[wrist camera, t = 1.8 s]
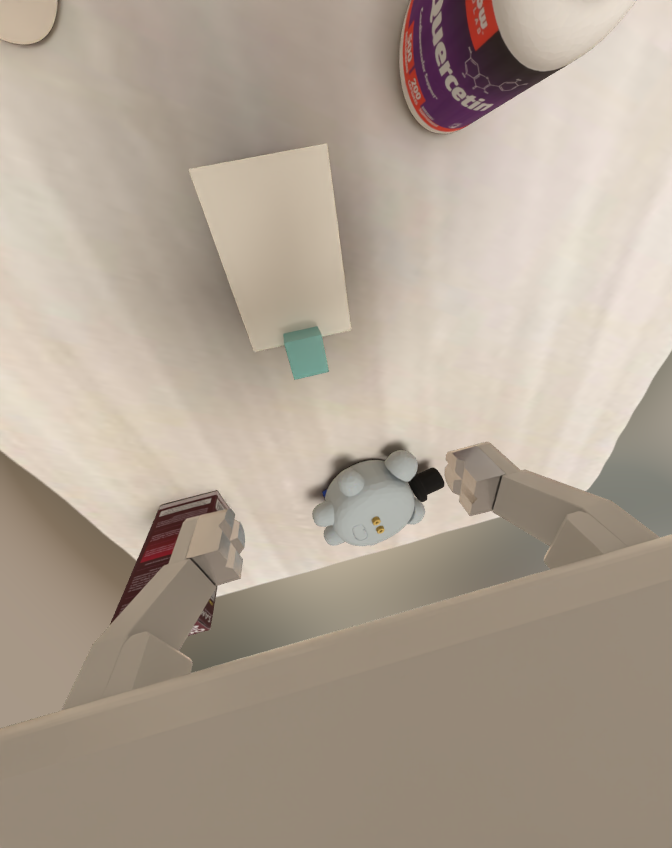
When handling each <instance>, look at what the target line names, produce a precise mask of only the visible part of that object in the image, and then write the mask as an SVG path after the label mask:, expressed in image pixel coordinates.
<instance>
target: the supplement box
mask: <svg viewBox="0 0 672 848" xmlns="http://www.w3.org/2000/svg"><path fill="white" fill-rule="evenodd" d="M225 509H229V507H228V506H227V504H226V503H225V501H224V500H223V498H222V497H221V495H220V494H219V492H218V491H214V492H211V493H207V494H203V495H200V496H196V497H192V498H188V499H184V500H180V501H177V502H173V503H169V504H165V505H161V506H160V508H159V510H158V512H157V515H156V517H155V519H154V521H153V524H152V526H151V529H150V531H149V533H148V536H147V538H146V540H145V543H144V545H143V548H142V550H141V552H140V555H139V557H138V559H137V562H136V564H135V567H134V569H133V571H132V574H131V576H130V578H129V581H128V584H127V585H126V588H125V591H124V593H123V595H122V597H121V600H120V602H119V604H118V607H117V609H116V611H115V614H114V617H113V618H112V621H111V623H112V622H113V621H114V620H115V619H116V618H117V617H118V616H119V615H120V613H121V612H122V611H123V610H124V609H125V608H126V607H127V606H128V605H129V604H130V602H131V601H132V600H133V599H134V598H135V597H136V596H137V595H138V594H139V592H140V591H141V590H142V589H143V588H144V587H145V586H146V585H147V584H148V582H149V581H150V580H151V579H152V578H153V577H154V576H155V575H156V574H157V572H158V571H159V570H160V569H161V568H162V567H163V566H164V565H167V564H169V561H170V558H171V555H172V552H173V550H174V547H175V544H176V541H177V538H178V536H179V533H180V530H181V527H182V524H183V522H184V521H185V520H186V519H187V518H192V517H196V516H200V515H203V514H208V513H212V512H216V511H221V510H225ZM216 591H217V586H216V589H215V591H214V592H213V594H212V596H211V597H210V599H209V601H208V602H207V604H206V606H205V607H204V609H203V611H202V613H201V614H200V616H199V618H198V619H197V621H196V623H195V624H194V626H193V628H192V630H191V631H190V633H189V635H192V634H196V633H199V632H203V631H207V630H210V627H211V621H212V615H213V610H214V603H215V597H216ZM111 623H110V625H111ZM189 635H188V636H189Z"/></svg>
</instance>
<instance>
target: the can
mask: <svg viewBox="0 0 672 848" xmlns="http://www.w3.org/2000/svg"><path fill="white" fill-rule="evenodd" d="M56 12H57V0H0V39H2V40H5V41H7V42H11V43H15V44H32V43H36V42H38V41H40V40H42V39H43V38H44V37H45V36H46V35H47V34H48V33H49V32H50V30H51V28H52V26H53V24H54V21H55V17H56Z"/></svg>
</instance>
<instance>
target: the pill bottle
mask: <svg viewBox="0 0 672 848" xmlns="http://www.w3.org/2000/svg"><path fill="white" fill-rule="evenodd" d="M635 2H636V0H410V2H409V5H408V8H407V12H406V15H405V19H404V23H403V28H402V33H401V40H400V52H399V67H400V78H401V84H402V89H403V93H404V97H405V100H406V103H407V105H408V107H409V109H410V111H411V113H412V115H413V116H414V118H415V119H416V120H417V121H418V122H419V123H420V124H421V125H422V126H423V127H424V128H426V129H427V130H429V131H431V132H434V133H438V134H448V133H453V132H456V131H458V130H461V129H462V128H464V127H466V126H468V125H470V124H471V123H473V122H474V121H476V120H477V119H479V118H481V117H482V116H484V115H486V114H487V113H489V112H490V111H492V110H494V109H495V108H497V107H499V106H500V105H502V104H504V103H505V102H507V101H508V100H510V99H512V98H513V97H515V96H517V95H518V94H520V93H522V92H523V91H525V90H527V89H528V88H530V87H531V86H533V85H535V84H537V83H539V82H540V81H542V80H543V79H545V78H547V77H548V76H550V75H552V74H553V73H555V72H557V71H558V70H560V69H562V68H563V67H565V66H567V65H568V64H570V63H572V62H573V61H575V60H576V59H578V58H580V57H581V56H583V55H584V54H586V53H587V52H588V51H590V50H591V49H592V48H593V47H595V46H596V45H597V44H598V43H600V42H601V41H602V40H603V39H604V38H605V37H606V36H607V35H608V34H609V33H610V32H611V31H612V30H613V29H614V28H615V27H616V26H617V24H618V23H619V22H620V21H621V20H622V18H623V17H624V16H625V15H626V14H627V12H628V11H629V10H630V8H631V7H632V6H633V5H634V3H635Z"/></svg>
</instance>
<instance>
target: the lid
mask: <svg viewBox="0 0 672 848" xmlns="http://www.w3.org/2000/svg"><path fill="white" fill-rule="evenodd" d="M188 170H189V173H190V176H191V179H192V181H193V184H194V187H195V190H196V193H197V195H198V198H199V201H200V204H201V206H202V209H203V212H204V215H205V218H206V220H207V223H208V226H209V229H210V231H211V234H212V237H213V240H214V243H215V245H216V248H217V251H218V254H219V257H220V259H221V262H222V265H223V268H224V270H225V273H226V276H227V279H228V282H229V284H230V287H231V290H232V293H233V295H234V298H235V301H236V304H237V307H238V309H239V312H240V315H241V318H242V320H243V323H244V326H245V329H246V332H247V334H248V337H249V340H250V343H251V345H252V348H253V351H254V352H258V351H263V350H267V349H271V348H276V347H280V346H285V348H286V352H287V355H288V359H289V362H290V366H291V369H292V373H293V376H294V380H296V379H300V378H305V377H309V376H313V375H317V374H322V373H326V372H329V370H328V365H327V360H326V355H325V350H324V345H323V339H322V337H324V336H329V335H333V334H338V333H342V332H347V331H351V323H350V315H349V308H348V300H347V292H346V284H345V277H344V269H343V261H342V253H341V246H340V238H339V230H338V222H337V215H336V207H335V199H334V191H333V184H332V176H331V168H330V161H329V153H328V145H327V143H325V144H320V145H314V146H309V147H303V148H298V149H293V150H287V151H282V152H277V153H271V154H266V155H261V156H255V157H250V158H244V159H239V160H234V161H228V162H223V163H218V164H212V165H207V166H201V167H196V168H191V169H188Z"/></svg>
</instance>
